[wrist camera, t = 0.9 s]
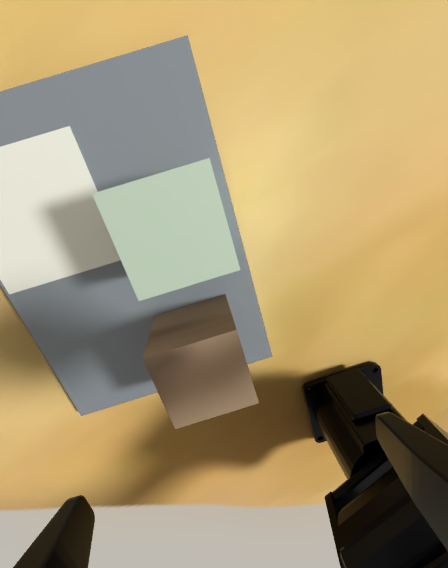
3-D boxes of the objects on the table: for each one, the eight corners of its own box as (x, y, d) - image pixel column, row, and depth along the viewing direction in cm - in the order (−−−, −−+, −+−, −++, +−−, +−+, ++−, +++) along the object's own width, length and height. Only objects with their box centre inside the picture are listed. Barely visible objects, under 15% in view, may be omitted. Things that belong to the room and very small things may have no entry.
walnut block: (243, 353, 21) (259, 403, 16) (179, 373, 20) (175, 429, 16) (225, 293, 19) (236, 329, 14) (154, 315, 19) (142, 358, 14)
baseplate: (270, 351, 21) (272, 357, 21) (84, 409, 21) (80, 417, 21) (187, 41, 14) (187, 34, 14) (-90, 124, 14) (-103, 121, 14)
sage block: (227, 247, 18) (240, 269, 13) (152, 270, 18) (138, 301, 13) (204, 166, 16) (209, 157, 11) (121, 191, 16) (92, 193, 11)
